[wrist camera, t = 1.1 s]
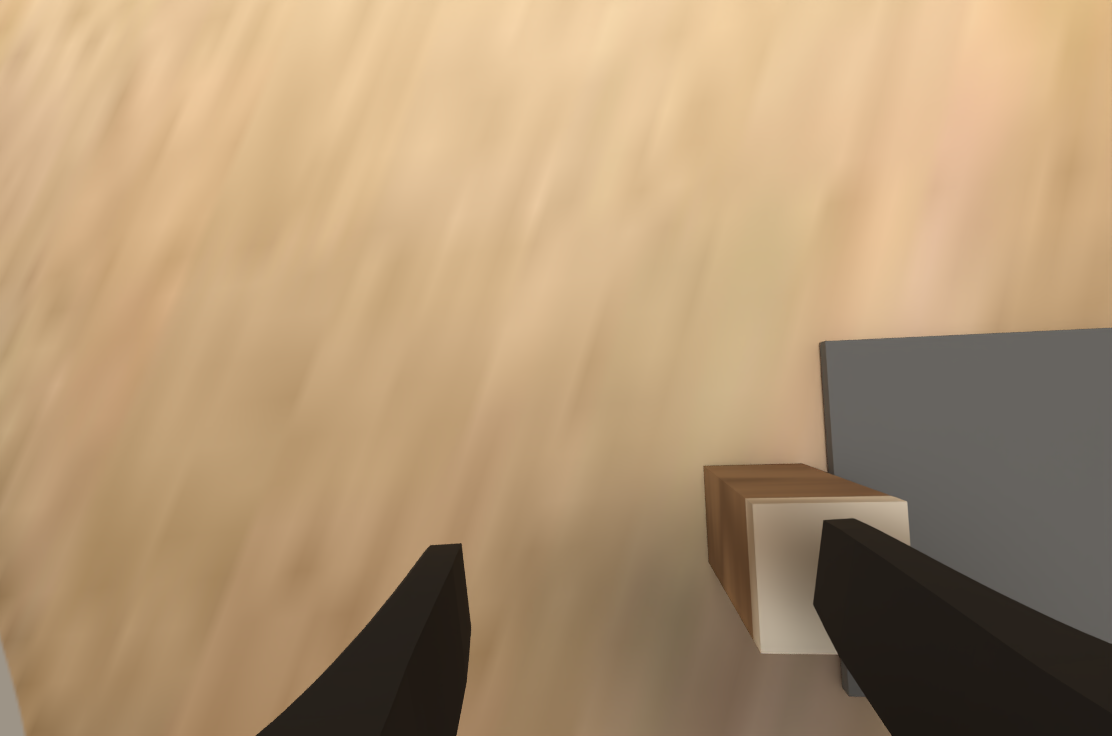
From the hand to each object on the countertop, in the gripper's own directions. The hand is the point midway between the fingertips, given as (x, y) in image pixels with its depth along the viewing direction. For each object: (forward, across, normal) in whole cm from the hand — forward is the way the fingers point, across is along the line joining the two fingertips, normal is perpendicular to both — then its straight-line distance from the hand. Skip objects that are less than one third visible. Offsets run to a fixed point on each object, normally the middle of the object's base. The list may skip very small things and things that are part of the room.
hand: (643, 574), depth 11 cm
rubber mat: (+9, -18, +5) cm, 20 cm away
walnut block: (+10, -7, +6) cm, 14 cm away
